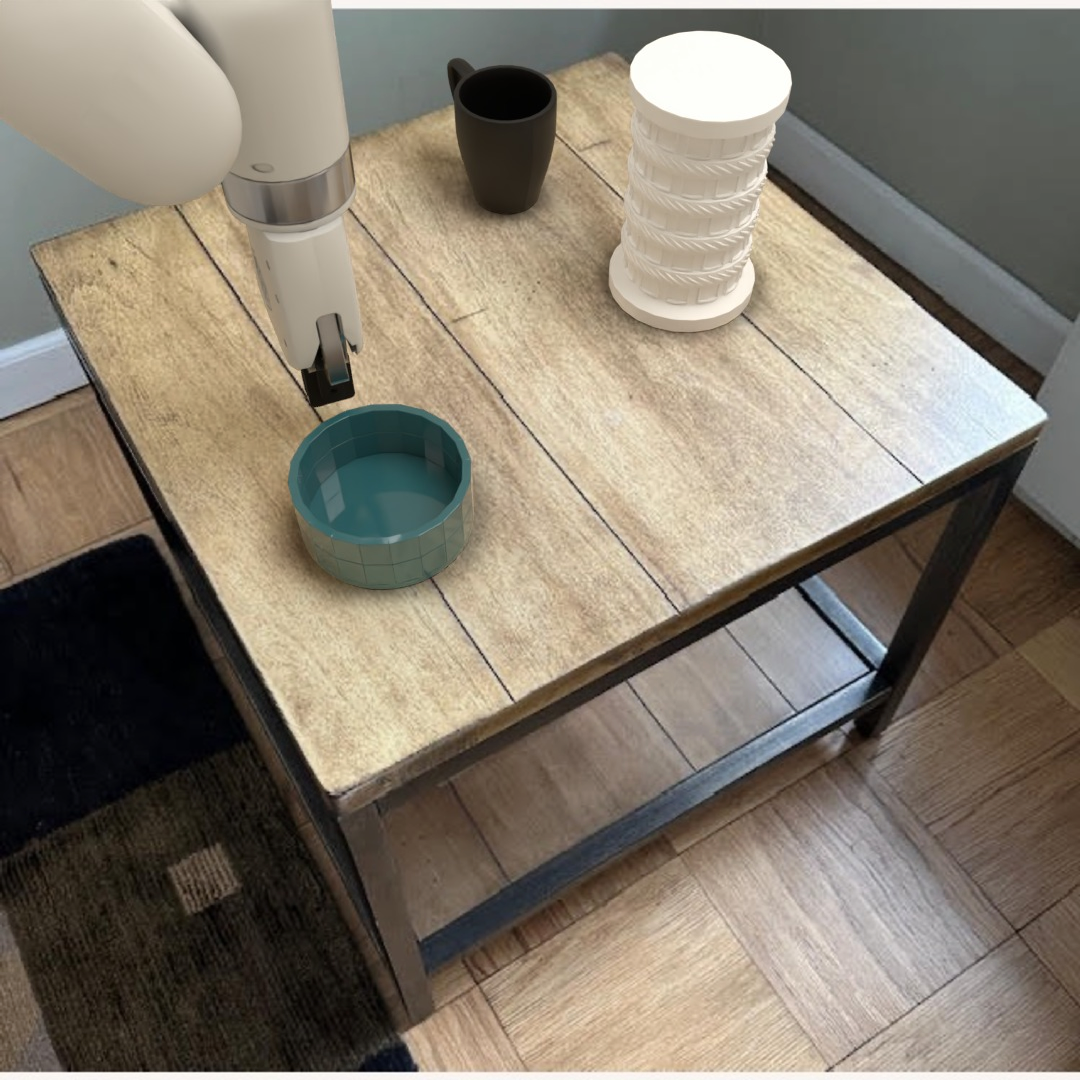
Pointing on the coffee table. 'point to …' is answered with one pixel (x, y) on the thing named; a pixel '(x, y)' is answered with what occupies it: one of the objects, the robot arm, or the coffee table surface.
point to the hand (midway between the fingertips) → (330, 394)
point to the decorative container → (696, 177)
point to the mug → (503, 131)
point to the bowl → (383, 495)
